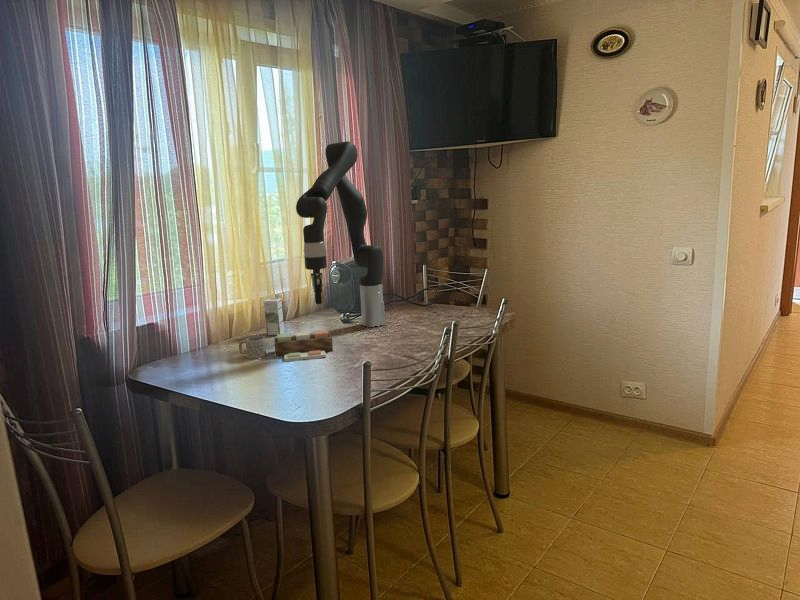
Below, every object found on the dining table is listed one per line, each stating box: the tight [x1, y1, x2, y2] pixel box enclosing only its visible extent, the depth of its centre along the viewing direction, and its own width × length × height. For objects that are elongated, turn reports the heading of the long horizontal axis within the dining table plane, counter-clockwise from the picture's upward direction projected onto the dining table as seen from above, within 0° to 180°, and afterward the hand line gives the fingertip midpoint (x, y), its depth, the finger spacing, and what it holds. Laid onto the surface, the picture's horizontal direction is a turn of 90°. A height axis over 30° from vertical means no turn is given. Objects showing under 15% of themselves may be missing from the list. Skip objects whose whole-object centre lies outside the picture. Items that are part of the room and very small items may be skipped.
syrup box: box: [263, 297, 285, 337], centre depth 230 cm, size 6×6×14 cm
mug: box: [238, 335, 267, 360], centre depth 202 cm, size 10×7×7 cm
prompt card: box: [283, 350, 327, 362], centre depth 198 cm, size 14×5×2 cm, turn 102°
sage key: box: [276, 332, 292, 342], centre depth 204 cm, size 5×5×2 cm
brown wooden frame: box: [274, 331, 334, 358], centre depth 205 cm, size 20×8×5 cm, turn 102°
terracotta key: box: [313, 329, 329, 338], centre depth 206 cm, size 5×5×2 cm
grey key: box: [295, 330, 311, 340], centre depth 205 cm, size 5×5×2 cm
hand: (318, 303), depth 204 cm, fingers closed
